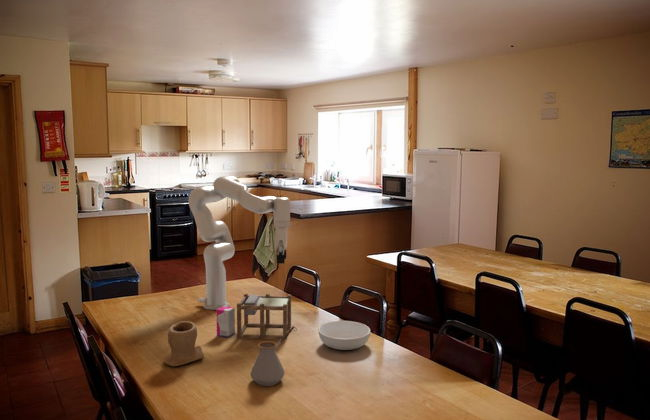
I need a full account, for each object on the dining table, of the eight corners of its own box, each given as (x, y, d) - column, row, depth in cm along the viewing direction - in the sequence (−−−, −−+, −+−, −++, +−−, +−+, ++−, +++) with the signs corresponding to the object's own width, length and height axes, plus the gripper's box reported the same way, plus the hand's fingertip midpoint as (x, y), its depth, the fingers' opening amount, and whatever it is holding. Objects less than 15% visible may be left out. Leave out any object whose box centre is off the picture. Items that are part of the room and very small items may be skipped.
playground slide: (244, 315, 220) (244, 302, 220) (250, 306, 233) (250, 294, 232) (285, 316, 220) (285, 303, 219) (288, 306, 232) (288, 295, 232)
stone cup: (173, 372, 187) (172, 331, 185) (159, 361, 196) (158, 322, 194) (212, 361, 196) (211, 322, 194) (197, 352, 205) (196, 314, 203)
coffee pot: (270, 391, 172) (269, 347, 171) (243, 383, 179) (242, 340, 177) (307, 369, 190) (308, 328, 188) (282, 362, 196) (282, 322, 194)
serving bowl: (309, 351, 207) (309, 333, 206) (329, 333, 226) (329, 318, 226) (360, 359, 199) (360, 341, 199) (376, 340, 219) (376, 324, 218)
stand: (237, 338, 220) (236, 304, 218) (244, 325, 236) (244, 293, 234) (286, 339, 219) (286, 305, 217) (291, 326, 235) (291, 294, 233)
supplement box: (235, 333, 226) (235, 307, 225) (228, 337, 221) (228, 311, 219) (223, 331, 228) (223, 305, 227) (216, 336, 222) (215, 309, 221)
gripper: (275, 221, 252) (275, 257, 254) (271, 227, 235) (271, 265, 237) (291, 221, 252) (291, 257, 254) (288, 227, 235) (288, 265, 237)
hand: (281, 261), depth 245 cm, fingers open, 9 cm apart
